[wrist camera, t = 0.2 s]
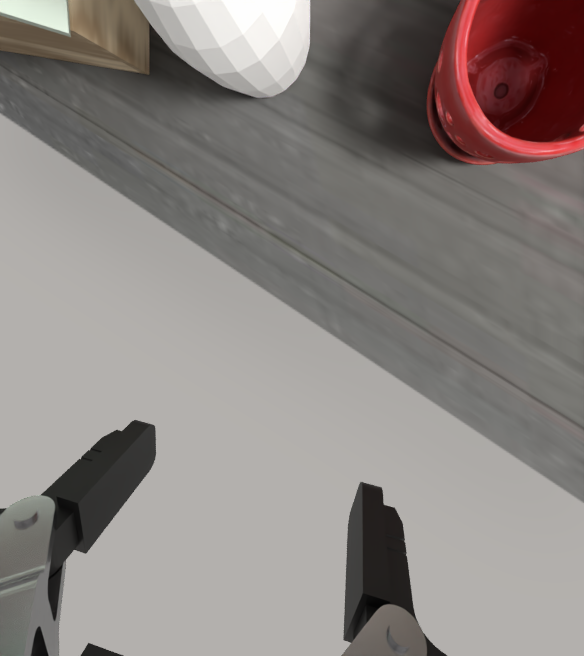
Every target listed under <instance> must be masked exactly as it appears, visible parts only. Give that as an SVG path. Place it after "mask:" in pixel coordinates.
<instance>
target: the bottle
mask: <svg viewBox="0 0 584 656" xmlns="http://www.w3.org/2000/svg"><path fill="white" fill-rule="evenodd" d="M134 1H135V3H136V4H137V6H138V7H139V8H140V10H141V11H142V13H143V14H144V16H145V17H146V18H147V20H148V21H149V23H150V24H151V25H152V27H153V28H154V29H155V31H156V32H157V33H158V34H159V35H160V37H161V38H162V39H163V40H164V42H165V43H166V44H167V45H168V47H169V48H170V49H171V50H172V52H174V53H175V54H176V55H178V56H179V57H180V58H181V59H183V60H184V61H185V62H187V63H188V64H189V65H190V66H192V67H193V68H195V69H196V70H198V71H199V72H201V73H202V74H204V75H206V76H207V77H209V78H210V79H212V80H213V81H215V82H217V83H218V84H220V85H221V86H223V87H225V88H228V89H231V90H235V91H238V92H241V93H244V94H247V95H250V96H253V97H256V98H265V97H273V96H275V95H277V94H279V93H281V92H283V91H285V90H286V89H287V88H288V87H289V86H290V85H291V84H292V83H293V82H294V81H295V80H296V79H297V77H298V76H299V74H300V72H301V70H302V68H303V67H304V65H305V62H306V58H307V54H308V50H309V46H310V0H134Z"/></svg>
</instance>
